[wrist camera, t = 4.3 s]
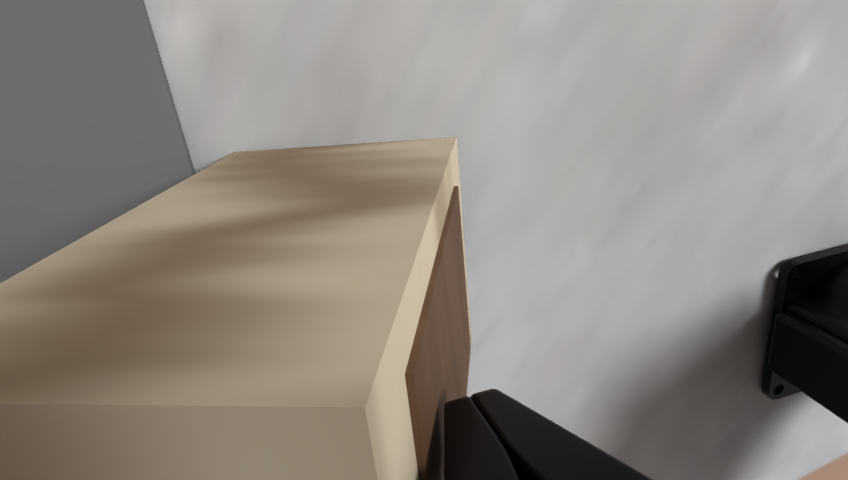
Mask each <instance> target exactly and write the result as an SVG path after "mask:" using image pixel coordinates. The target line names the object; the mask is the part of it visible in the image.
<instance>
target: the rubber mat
mask: <svg viewBox="0 0 848 480" xmlns="http://www.w3.org/2000/svg"><path fill="white" fill-rule="evenodd" d="M194 174H195V171H194V168H193V164H192V161H191V158H190V154H189V151H188V148H187V144H186V141H185V138H184V134H183V131H182V128H181V124H180V121H179V118H178V114H177V111H176V108H175V104H174V101H173V98H172V94H171V91H170V88H169V84H168V81H167V78H166V74H165V71H164V68H163V64H162V61H161V58H160V54H159V51H158V48H157V44H156V41H155V38H154V34H153V31H152V28H151V24H150V21H149V18H148V14H147V11H146V8H145V4H144V1H143V0H0V283H2V282H3V281H5V280H7V279H9V278H11V277H12V276H14V275H16V274H18V273H20V272H21V271H23V270H25V269H27V268H28V267H30V266H32V265H34V264H36V263H37V262H39V261H41V260H43V259H44V258H46V257H48V256H50V255H52V254H53V253H55V252H57V251H59V250H61V249H62V248H64V247H66V246H68V245H69V244H71V243H73V242H75V241H77V240H78V239H80V238H82V237H84V236H85V235H87V234H89V233H91V232H93V231H94V230H96V229H98V228H100V227H102V226H103V225H105V224H107V223H109V222H110V221H112V220H114V219H116V218H118V217H119V216H121V215H123V214H125V213H126V212H128V211H130V210H132V209H134V208H135V207H137V206H139V205H141V204H143V203H144V202H146V201H148V200H150V199H151V198H153V197H155V196H157V195H159V194H160V193H162V192H164V191H166V190H167V189H169V188H171V187H173V186H175V185H176V184H178V183H180V182H182V181H184V180H185V179H187V178H189V177H191V176H192V175H194Z"/></svg>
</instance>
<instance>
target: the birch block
mask: <svg viewBox="0 0 848 480" xmlns="http://www.w3.org/2000/svg"><path fill="white" fill-rule="evenodd" d="M471 340H472V338H471V325H470V311H469V298H468V285H467V272H466V258H465V245H464V232H463V218H462V205H461V192H460V179H459V165H458V152H457V139H456V137H450V138H435V139H421V140H406V141H391V142H377V143H362V144H348V145H333V146H318V147H304V148H289V149H275V150H260V151H245V152H233V153H232V154H230V155H228V156H226V157H225V158H223V159H221V160H219V161H217V162H216V163H214V164H212V165H210V166H209V167H207V168H205V169H203V170H201V171H200V172H198V173H196V174H194V175H192V176H191V177H189V178H187V179H185V180H184V181H182V182H180V183H178V184H176V185H175V186H173V187H171V188H169V189H167V190H166V191H164V192H162V193H160V194H159V195H157V196H155V197H153V198H151V199H150V200H148V201H146V202H144V203H143V204H141V205H139V206H137V207H135V208H134V209H132V210H130V211H128V212H126V213H125V214H123V215H121V216H119V217H118V218H116V219H114V220H112V221H110V222H109V223H107V224H105V225H103V226H102V227H100V228H98V229H96V230H94V231H93V232H91V233H89V234H87V235H85V236H84V237H82V238H80V239H78V240H77V241H75V242H73V243H71V244H69V245H68V246H66V247H64V248H62V249H61V250H59V251H57V252H55V253H53V254H52V255H50V256H48V257H46V258H44V259H43V260H41V261H39V262H37V263H36V264H34V265H32V266H30V267H28V268H27V269H25V270H23V271H21V272H20V273H18V274H16V275H14V276H12V277H11V278H9V279H7V280H5V281H3V282H2V283H0V480H444V405H445V403H446V402H448V401H451V400H454V399H458V398H461V397H465V396H467V384H468V373H469V362H470V351H471Z"/></svg>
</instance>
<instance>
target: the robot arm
mask: <svg viewBox="0 0 848 480" xmlns="http://www.w3.org/2000/svg"><path fill="white" fill-rule="evenodd" d="M761 391H762V392H763V393H764V394H765V395H767V396H768V397H769V398H771V399H773V400H774V399H779V398H782V397H785V396H788V395H792V394H795V393H798V392H803V393H804V394H806V395H807V396H809V397H810V398H812V399H813V400H815V401H816V402H817V403H819V404H820V405H822V406H823V407H825V408H826V409H828V410H829V411H831V412H832V413H833V414H835V415H836V416H838V417H839V418H841V419H842V420H844V421H845V422H847V423H848V245H844V246H841V247H837V248H833V249H829V250H825V251H822V252H818V253H814V254H810V255H806V256H803V257H799V258H795V259H791V260H789V261H787V262H786V263H784V264H783V265H782V267H781V268H780V271H779V274H778V281H777V287H776V294H775V300H774V307H773V313H772V320H771V327H770V333H769V340H768V346H767V353H766V359H765V366H764V372H763V379H762V386H761ZM444 480H652V479H651V478H649V477H647V476H646V475H644V474H642V473H640V472H639V471H637V470H635V469H633V468H632V467H630V466H628V465H627V464H625V463H623V462H621V461H620V460H618V459H616V458H614V457H613V456H611V455H609V454H608V453H606V452H604V451H602V450H601V449H599V448H597V447H595V446H594V445H592V444H590V443H589V442H587V441H585V440H583V439H582V438H580V437H578V436H576V435H575V434H573V433H571V432H570V431H568V430H566V429H564V428H563V427H561V426H559V425H558V424H556V423H554V422H552V421H551V420H549V419H547V418H545V417H544V416H542V415H540V414H539V413H537V412H535V411H533V410H532V409H530V408H528V407H526V406H525V405H523V404H521V403H520V402H518V401H516V400H514V399H513V398H511V397H509V396H507V395H506V394H504V393H502V392H501V391H499V390H496V389H489V390H486V391H482V392H479V393H475V394H473V395H472V396H471V397H467V396H465V397H461V398H458V399H454V400H451V401H448V402H446V403H445V405H444Z"/></svg>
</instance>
